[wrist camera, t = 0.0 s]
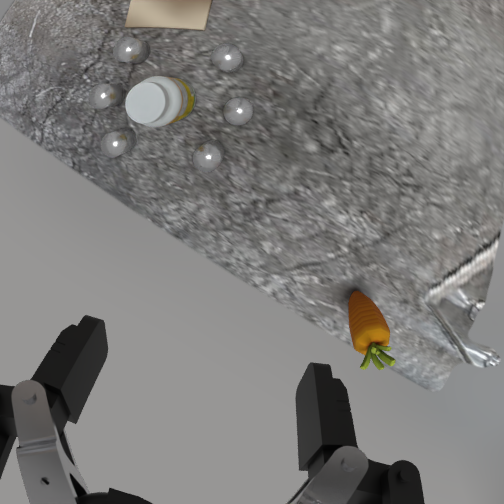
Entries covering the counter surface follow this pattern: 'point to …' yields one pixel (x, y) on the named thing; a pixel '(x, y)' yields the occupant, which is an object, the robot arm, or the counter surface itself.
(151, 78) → the supplement bottle
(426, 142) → the counter surface
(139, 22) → the pad
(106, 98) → the spacer posts
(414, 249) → the counter surface
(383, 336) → the carrot
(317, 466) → the robot arm
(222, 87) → the counter surface
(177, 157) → the counter surface
